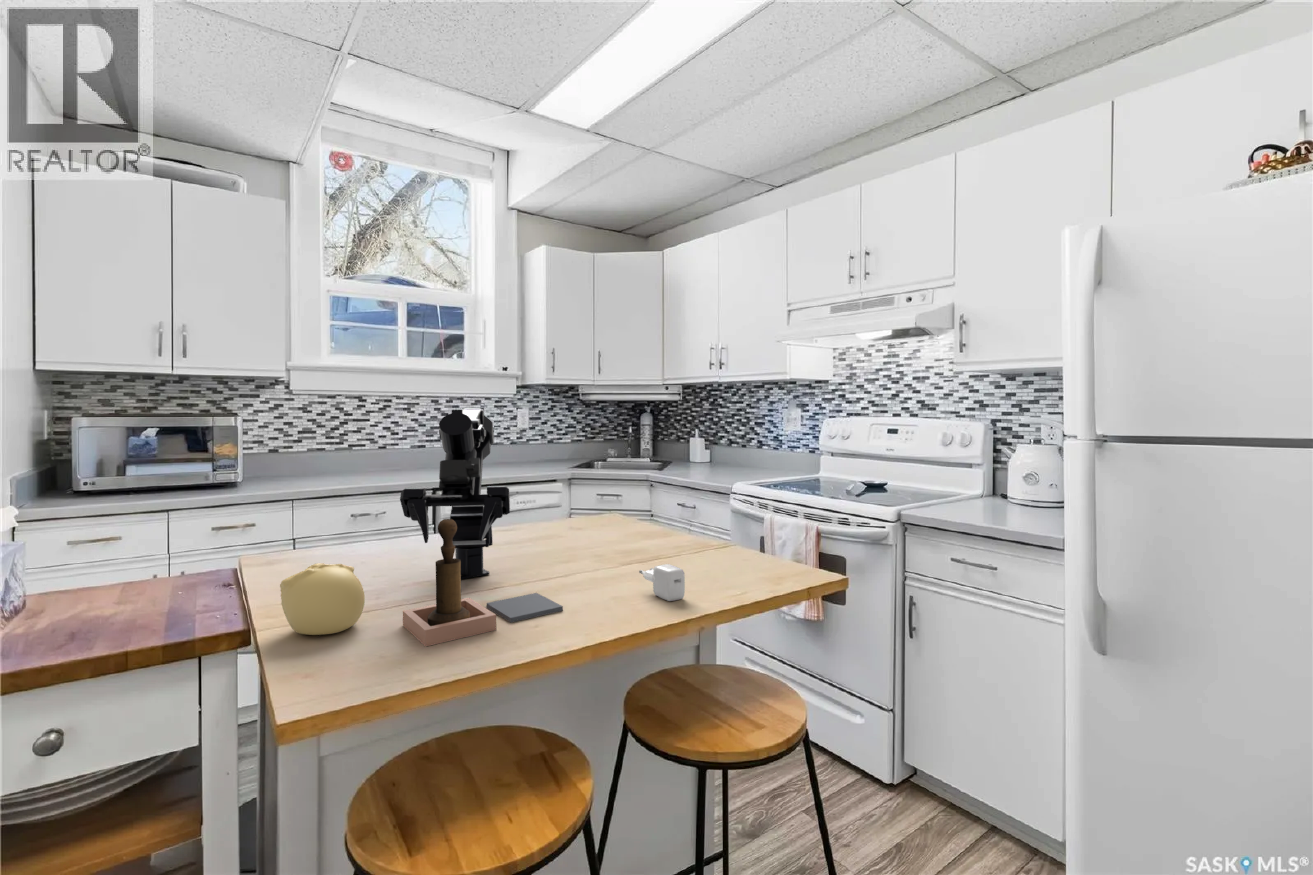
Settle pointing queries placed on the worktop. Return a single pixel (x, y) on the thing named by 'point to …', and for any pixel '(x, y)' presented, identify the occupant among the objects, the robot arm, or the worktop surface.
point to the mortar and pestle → (448, 580)
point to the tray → (431, 635)
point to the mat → (524, 607)
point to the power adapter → (666, 581)
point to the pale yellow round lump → (322, 599)
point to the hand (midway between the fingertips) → (453, 540)
